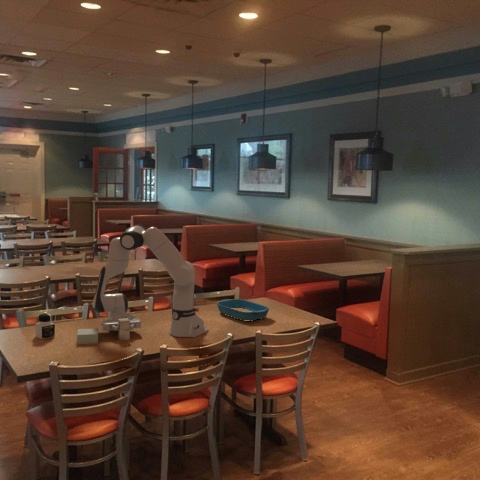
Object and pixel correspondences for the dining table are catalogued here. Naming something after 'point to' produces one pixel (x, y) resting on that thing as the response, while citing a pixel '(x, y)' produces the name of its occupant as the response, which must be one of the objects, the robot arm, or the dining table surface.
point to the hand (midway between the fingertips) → (124, 328)
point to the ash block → (124, 329)
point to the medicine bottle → (45, 327)
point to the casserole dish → (257, 309)
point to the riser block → (87, 336)
